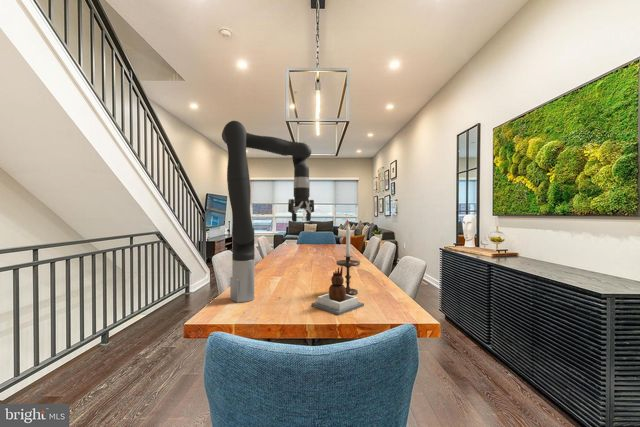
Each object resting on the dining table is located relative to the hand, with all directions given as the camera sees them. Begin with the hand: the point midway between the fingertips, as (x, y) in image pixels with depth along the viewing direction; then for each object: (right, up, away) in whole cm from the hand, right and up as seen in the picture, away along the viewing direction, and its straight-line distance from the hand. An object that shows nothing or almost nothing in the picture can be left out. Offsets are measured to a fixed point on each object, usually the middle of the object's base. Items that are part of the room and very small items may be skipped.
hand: (301, 221), depth 137 cm
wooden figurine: (+16, -33, -20) cm, 42 cm away
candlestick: (+22, -33, -2) cm, 40 cm away
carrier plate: (+16, -33, -20) cm, 42 cm away
